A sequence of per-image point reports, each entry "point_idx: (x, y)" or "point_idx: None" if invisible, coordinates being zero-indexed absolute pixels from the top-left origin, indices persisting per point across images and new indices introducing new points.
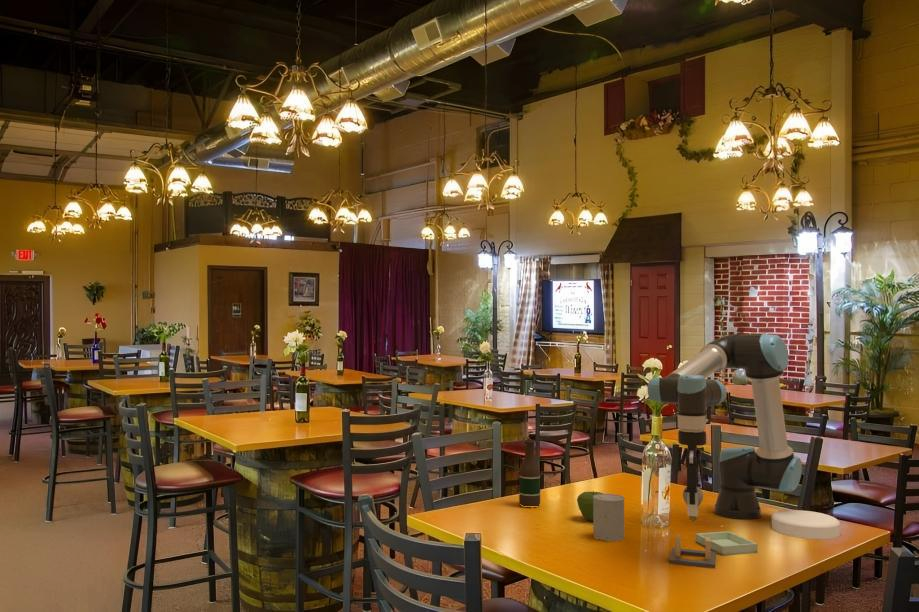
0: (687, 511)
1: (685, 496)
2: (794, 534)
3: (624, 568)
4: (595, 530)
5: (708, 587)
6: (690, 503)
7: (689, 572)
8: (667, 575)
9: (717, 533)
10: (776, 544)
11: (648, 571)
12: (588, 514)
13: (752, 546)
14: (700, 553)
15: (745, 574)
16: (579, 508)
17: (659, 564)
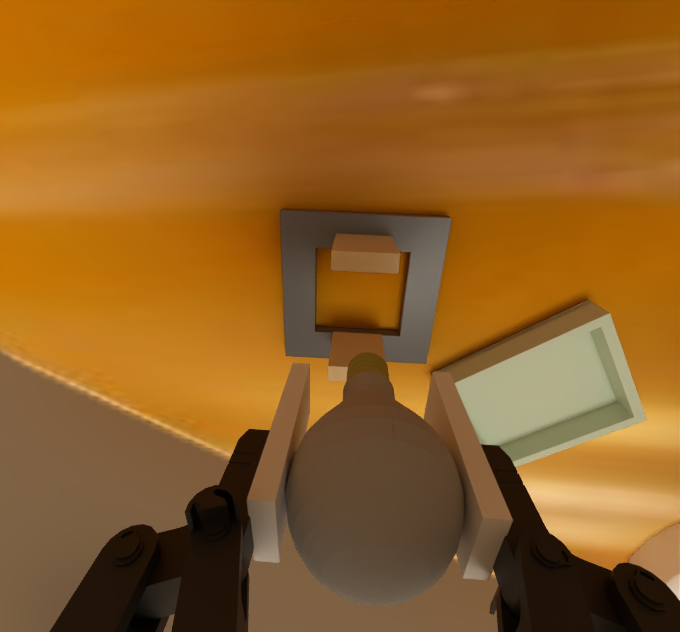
0: (288, 378)
1: (309, 442)
2: (657, 544)
3: (128, 13)
4: None
5: (106, 327)
6: (243, 440)
7: (213, 279)
8: (143, 209)
9: (620, 384)
10: (572, 497)
11: (148, 133)
12: None
13: None
14: (402, 317)
15: (268, 414)
16: None
17: (254, 172)
